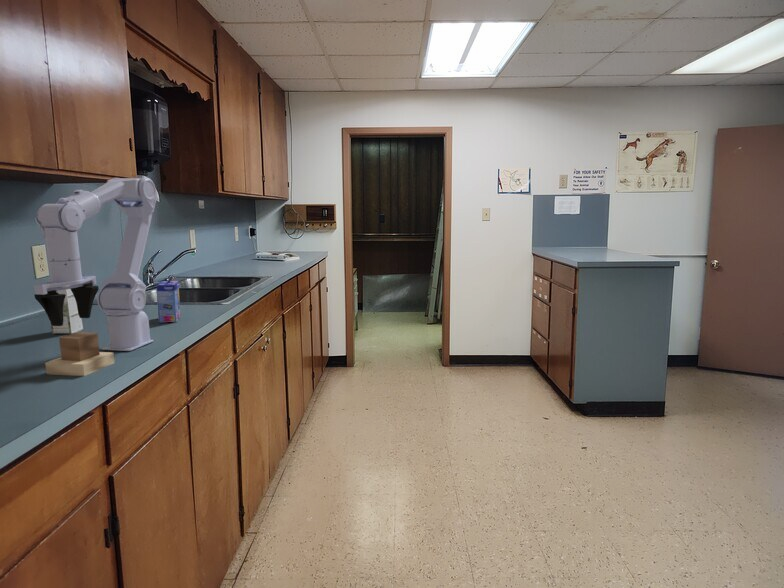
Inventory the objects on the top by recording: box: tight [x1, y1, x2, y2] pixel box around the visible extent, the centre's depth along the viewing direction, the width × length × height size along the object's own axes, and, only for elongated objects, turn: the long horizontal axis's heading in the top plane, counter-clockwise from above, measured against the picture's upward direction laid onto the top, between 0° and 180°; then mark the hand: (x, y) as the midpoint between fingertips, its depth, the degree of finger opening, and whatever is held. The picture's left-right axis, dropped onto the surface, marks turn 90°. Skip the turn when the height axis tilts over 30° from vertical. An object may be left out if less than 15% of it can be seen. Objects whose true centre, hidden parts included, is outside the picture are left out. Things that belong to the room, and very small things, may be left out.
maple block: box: [44, 351, 115, 377], centre depth 106 cm, size 9×9×3 cm
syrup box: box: [50, 284, 84, 335], centre depth 137 cm, size 6×6×14 cm
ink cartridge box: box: [156, 274, 181, 324], centre depth 153 cm, size 10×6×14 cm, turn 17°
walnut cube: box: [58, 331, 100, 361], centre depth 105 cm, size 5×5×5 cm
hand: (71, 321), depth 105 cm, fingers open, 7 cm apart
